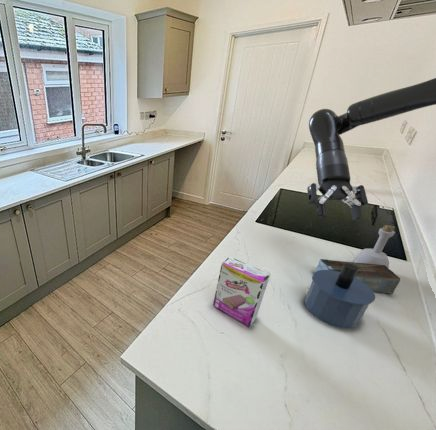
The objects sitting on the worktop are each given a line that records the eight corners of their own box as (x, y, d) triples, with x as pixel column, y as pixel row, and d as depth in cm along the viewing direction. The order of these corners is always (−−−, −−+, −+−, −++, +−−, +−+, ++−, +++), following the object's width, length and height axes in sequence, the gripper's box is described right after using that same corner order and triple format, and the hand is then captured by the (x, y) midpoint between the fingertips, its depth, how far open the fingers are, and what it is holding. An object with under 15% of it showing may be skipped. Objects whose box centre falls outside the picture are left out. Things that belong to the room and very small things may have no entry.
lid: (378, 289, 72) (390, 267, 69) (367, 315, 64) (380, 292, 61) (319, 266, 81) (328, 246, 78) (304, 286, 74) (312, 265, 70)
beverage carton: (313, 271, 92) (319, 256, 89) (377, 279, 88) (386, 263, 85) (323, 286, 85) (331, 270, 82) (394, 295, 81) (404, 279, 78)
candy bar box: (211, 306, 79) (220, 262, 71) (219, 298, 82) (228, 255, 75) (249, 329, 71) (263, 282, 64) (257, 318, 74) (271, 273, 67)
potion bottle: (360, 275, 90) (383, 230, 82) (346, 260, 97) (366, 217, 89) (390, 279, 88) (417, 233, 80) (374, 263, 96) (397, 219, 87)
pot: (363, 311, 76) (376, 288, 72) (352, 336, 69) (366, 311, 65) (312, 289, 85) (321, 266, 81) (298, 308, 77) (307, 285, 73)
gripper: (313, 161, 78) (319, 212, 73) (368, 163, 76) (378, 216, 71) (300, 173, 85) (305, 220, 80) (350, 175, 83) (358, 224, 78)
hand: (339, 218), depth 75 cm, fingers open, 8 cm apart
